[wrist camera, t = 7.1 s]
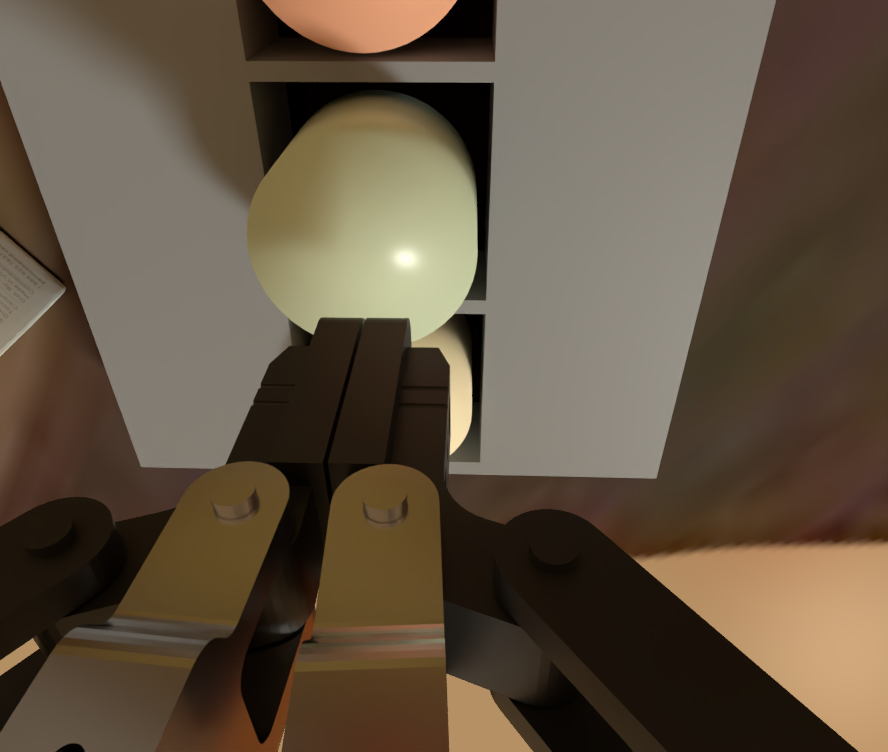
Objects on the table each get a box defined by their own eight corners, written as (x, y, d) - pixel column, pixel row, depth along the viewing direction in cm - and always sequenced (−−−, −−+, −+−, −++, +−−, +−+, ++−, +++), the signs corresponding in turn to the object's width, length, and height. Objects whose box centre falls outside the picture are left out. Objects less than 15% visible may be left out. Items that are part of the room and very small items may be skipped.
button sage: (272, 89, 15) (226, 133, 12) (479, 89, 15) (480, 135, 12) (300, 275, 18) (266, 347, 15) (474, 277, 17) (474, 350, 15)
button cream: (318, 275, 20) (291, 338, 17) (473, 277, 20) (473, 341, 17) (333, 399, 22) (313, 471, 20) (470, 401, 22) (470, 475, 19)
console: (-33, -282, 13) (-148, -325, 11) (786, -294, 13) (861, -340, 10) (176, 407, 23) (141, 467, 21) (636, 416, 23) (655, 478, 20)
